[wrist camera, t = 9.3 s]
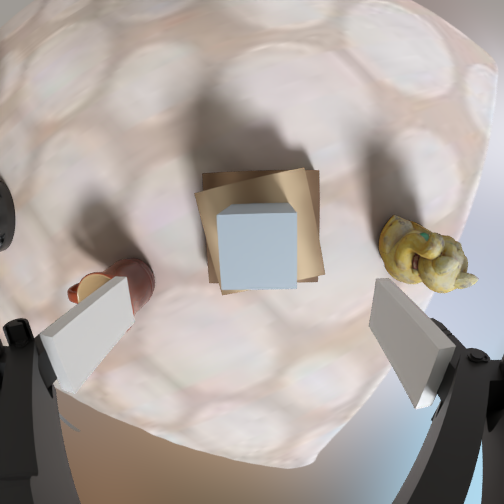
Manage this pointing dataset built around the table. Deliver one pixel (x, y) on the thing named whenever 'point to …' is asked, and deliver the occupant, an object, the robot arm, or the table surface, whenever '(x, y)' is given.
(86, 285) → the mug
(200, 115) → the table surface
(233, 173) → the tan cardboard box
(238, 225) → the block
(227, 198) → the slab upper
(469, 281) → the decorative figurine
